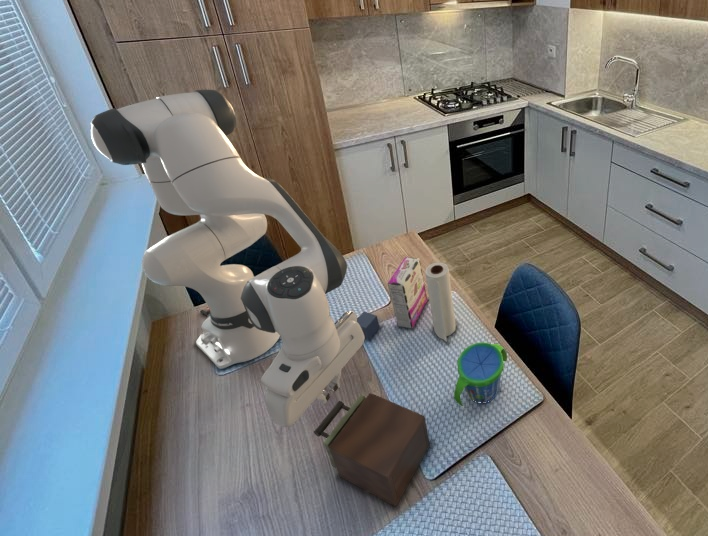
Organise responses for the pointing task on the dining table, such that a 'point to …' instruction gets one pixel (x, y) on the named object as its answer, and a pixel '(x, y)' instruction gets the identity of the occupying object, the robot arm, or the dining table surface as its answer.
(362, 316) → the block
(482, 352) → the snack cup
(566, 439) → the dining table surface
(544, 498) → the dining table surface
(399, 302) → the candy bar box
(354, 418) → the cabinet
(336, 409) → the drawer
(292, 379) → the robot arm
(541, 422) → the dining table surface
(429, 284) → the paper towel roll
